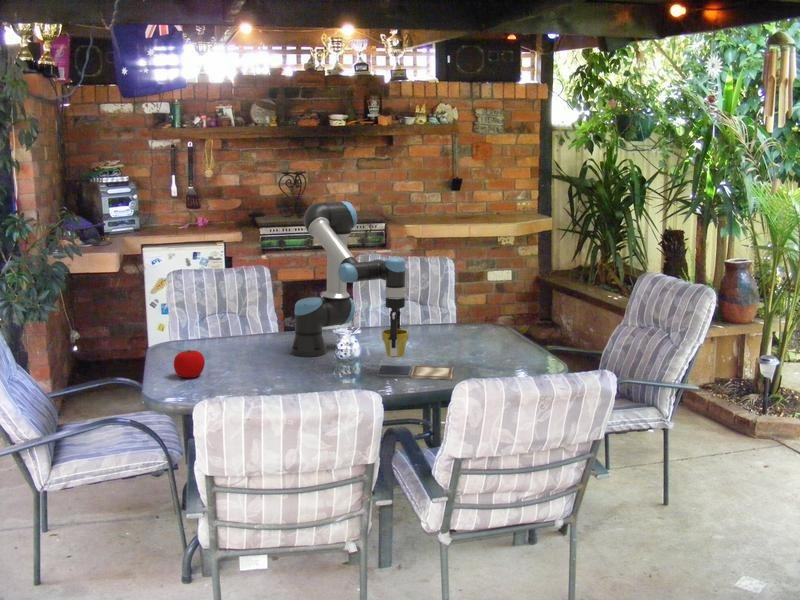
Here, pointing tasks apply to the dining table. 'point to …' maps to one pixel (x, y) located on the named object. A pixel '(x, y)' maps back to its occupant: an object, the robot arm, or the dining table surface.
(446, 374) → the board
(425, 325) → the dining table surface
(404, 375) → the ink pad
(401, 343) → the plant pot
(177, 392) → the dining table surface
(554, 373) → the dining table surface
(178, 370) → the tomato
